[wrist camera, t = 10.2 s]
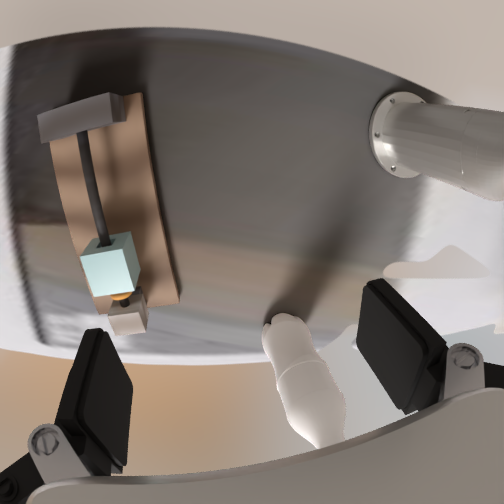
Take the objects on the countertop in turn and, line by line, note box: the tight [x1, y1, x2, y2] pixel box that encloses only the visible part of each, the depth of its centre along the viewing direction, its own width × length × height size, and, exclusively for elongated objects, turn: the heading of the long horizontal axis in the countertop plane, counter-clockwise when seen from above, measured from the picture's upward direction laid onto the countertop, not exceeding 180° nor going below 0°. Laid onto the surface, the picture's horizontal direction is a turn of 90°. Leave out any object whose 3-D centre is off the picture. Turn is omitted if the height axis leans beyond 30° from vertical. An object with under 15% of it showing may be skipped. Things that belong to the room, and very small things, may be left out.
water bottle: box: [262, 313, 346, 449], centre depth 36 cm, size 7×7×25 cm
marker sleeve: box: [80, 231, 141, 297], centre depth 32 cm, size 5×5×5 cm
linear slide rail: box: [37, 92, 180, 336], centre depth 32 cm, size 27×12×8 cm, turn 5°
